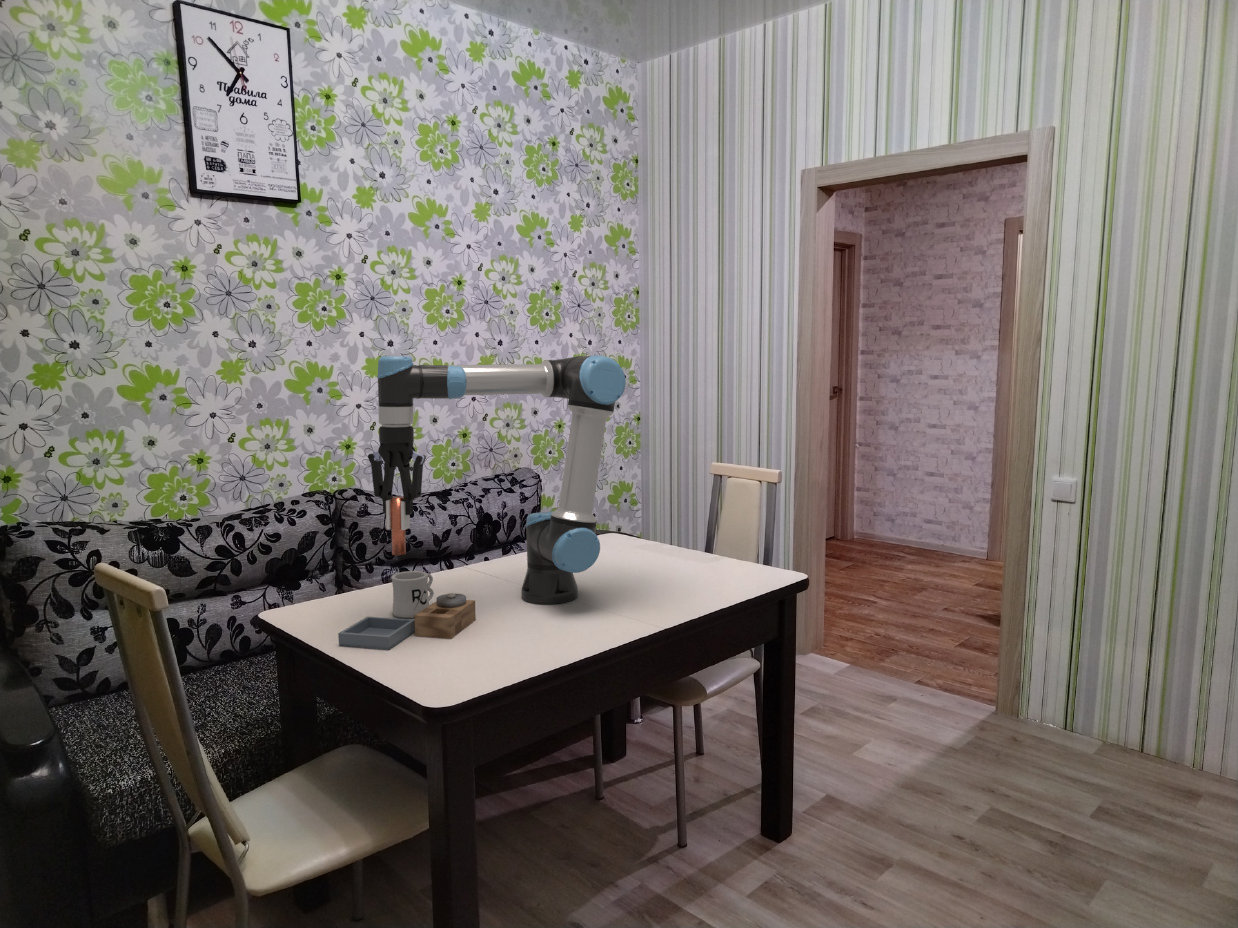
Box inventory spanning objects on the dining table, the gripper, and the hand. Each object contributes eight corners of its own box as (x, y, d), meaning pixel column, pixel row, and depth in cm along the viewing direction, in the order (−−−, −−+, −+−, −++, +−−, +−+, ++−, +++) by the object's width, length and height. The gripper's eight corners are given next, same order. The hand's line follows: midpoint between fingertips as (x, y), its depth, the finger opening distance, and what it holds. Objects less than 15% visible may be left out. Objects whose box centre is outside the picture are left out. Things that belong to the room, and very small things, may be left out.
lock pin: (408, 552, 190) (407, 496, 188) (401, 555, 187) (400, 498, 186) (396, 551, 191) (395, 496, 189) (389, 554, 188) (388, 498, 186)
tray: (415, 631, 194) (415, 619, 194) (389, 650, 182) (388, 637, 182) (368, 628, 197) (367, 616, 197) (338, 646, 185) (338, 633, 185)
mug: (410, 621, 202) (409, 581, 201) (384, 615, 207) (383, 576, 206) (446, 608, 213) (445, 570, 211) (421, 603, 217) (419, 566, 216)
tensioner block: (475, 620, 203) (474, 591, 202) (451, 638, 189) (450, 607, 188) (441, 617, 205) (440, 589, 204) (415, 636, 192) (413, 605, 191)
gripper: (436, 425, 187) (438, 527, 190) (372, 423, 191) (374, 523, 194) (421, 427, 180) (423, 533, 183) (355, 425, 184) (357, 529, 186)
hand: (398, 528), depth 188 cm, fingers closed on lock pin, 3 cm apart
